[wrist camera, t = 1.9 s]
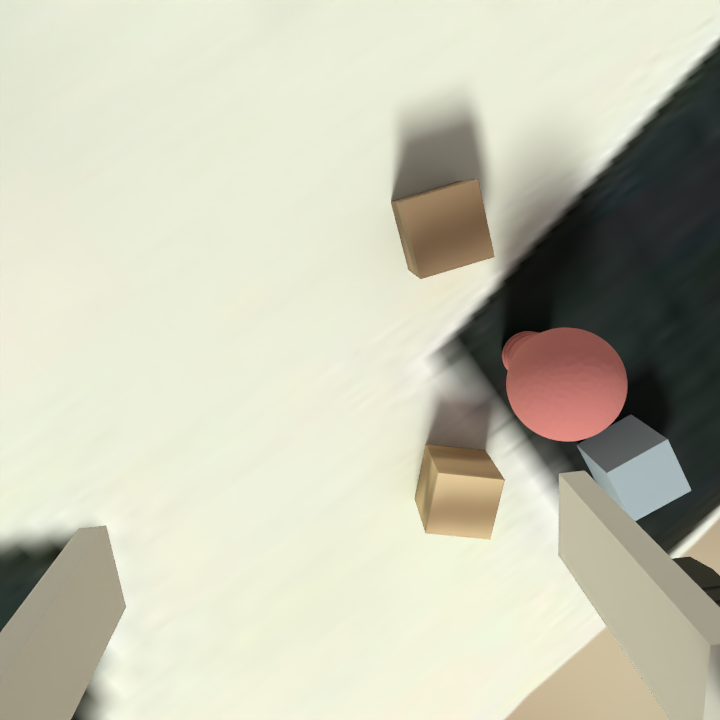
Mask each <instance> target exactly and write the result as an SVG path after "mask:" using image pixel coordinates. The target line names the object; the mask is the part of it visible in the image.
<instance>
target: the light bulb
mask: <svg viewBox="0 0 720 720" xmlns="http://www.w3.org/2000/svg"><path fill="white" fill-rule="evenodd" d="M502 360H503V364H504V366H505V367H506V369H507V370H508V373H507V381H506V387H507V394H508V398H509V401H510V404H511V406H512V409H513V410H514V412H515V414H516V415H517V416H518V418H519V419H520V420H521V421H522V422H523V423H524V424H525V425H526V426H527V427H528V428H530V429H531V430H532V431H534V432H536V433H537V434H539V435H541V436H544V437H546V438H549V439H553V440H558V441H578V440H583V439H587V438H589V437H592V436H594V435H596V434H599V433H600V432H601V431H603V430H604V429H606V428H607V427H608V426H609V425H610V424H612V423H613V421H614V420H615V419H616V418H617V417H618V415H619V413H620V412H621V410H622V408H623V405H624V402H625V400H626V395H627V376H626V371H625V368H624V365H623V363H622V361H621V359H620V357H619V355H618V354H617V352H616V351H615V350H614V349H613V348H612V347H611V346H610V345H609V344H608V343H607V342H606V341H605V340H603V339H602V338H600V337H598V336H597V335H595V334H593V333H590V332H588V331H585V330H581V329H577V328H555V329H551V330H547V331H544V332H541V333H538V332H532V331H524V332H520V333H517V334H515V335H514V336H512V337H511V338H510V339H509V340H508V341H507V342H506V344H505V346H504V348H503V351H502Z"/></svg>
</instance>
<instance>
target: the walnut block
mask: <svg viewBox="0 0 720 720" xmlns="http://www.w3.org/2000/svg"><path fill="white" fill-rule="evenodd" d="M391 204H392V208H393V212H394V216H395V220H396V224H397V227H398V231H399V235H400V239H401V243H402V247H403V250H404V254H405V258H406V262H407V266H408V270H409V271H411V272H412V273H413V274H415V275H416V276H417V277H419V278H420V279H422V278H426V277H429V276H432V275H436V274H439V273H442V272H446V271H449V270H452V269H456V268H459V267H462V266H466V265H469V264H472V263H476V262H479V261H483V260H486V259H489V258H493V257H494V252H493V247H492V242H491V238H490V233H489V228H488V224H487V219H486V214H485V210H484V205H483V200H482V196H481V191H480V186H479V181H478V179H474V180H466V181H458V182H455V183H452V184H448V185H445V186H442V187H438V188H435V189H432V190H428V191H425V192H422V193H418V194H415V195H412V196H408V197H405V198H402V199H398V200H395V201H392V202H391Z"/></svg>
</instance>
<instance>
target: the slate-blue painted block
mask: <svg viewBox="0 0 720 720" xmlns="http://www.w3.org/2000/svg"><path fill="white" fill-rule="evenodd" d="M577 446H578V448H579V450H580V452H581V454H582V456H583V458H584V460H585V462H586V463H587V465H588V467H589V469H590V471H591V473H592V475H593V477H594V479H595V481H596V483H597V484H598V485H599V486H600V487H601V488H602V489H603V490H604V491H605V492H606V493H607V494H608V495H609V496H610V497H611V498H612V499H613V500H614V501H615V502H616V503H617V504H618V505H619V506H620V507H621V508H622V509H623V510H624V511H625V512H626V513H627V514H628V515H629V516H630V517H631V518H632V519H633V520H634V521H636V520H638V519H640V518H642V517H644V516H645V515H647V514H649V513H651V512H653V511H655V510H656V509H658V508H660V507H662V506H664V505H666V504H667V503H669V502H671V501H673V500H675V499H677V498H678V497H680V496H682V495H684V494H686V493H688V492H689V491H691V489H690V486H689V484H688V482H687V480H686V478H685V476H684V473H683V471H682V469H681V467H680V465H679V463H678V461H677V458H676V456H675V454H674V452H673V450H672V448H671V445H670V443H669V441H668V439H667V438H665V437H664V436H662V435H661V434H659V433H658V432H656V431H655V430H653V429H652V428H650V427H649V426H647V425H646V424H645V423H643V422H642V421H640V420H639V419H637V418H636V417H634V416H633V415H629V416H627V417H625V418H624V419H622V420H620V421H618V422H616V423H615V424H613V425H611V426H609V427H608V428H606V429H604V430H603V431H601V432H600V433H599V434H596V435H594V436H592V437H590V438H588V439H586V440H584V441H583V442H581V443H579V444H577Z"/></svg>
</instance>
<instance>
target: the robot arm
mask: <svg viewBox="0 0 720 720" xmlns="http://www.w3.org/2000/svg"><path fill="white" fill-rule="evenodd" d="M558 555H559V556H560V558H561V559H562V561H563V562H564V564H565V565H566V567H567V568H568V570H569V571H570V573H571V574H572V576H573V577H574V579H575V580H576V582H577V583H578V585H579V586H580V588H581V589H582V590H583V592H584V593H585V595H586V596H587V598H588V599H589V601H590V602H591V604H592V605H593V607H594V608H595V610H596V611H597V613H598V614H599V616H600V617H601V619H602V620H603V622H604V623H605V625H606V626H607V627H608V629H609V630H610V632H611V633H612V635H613V636H614V638H615V639H616V641H617V642H618V644H619V645H620V647H621V648H622V650H623V651H624V653H625V654H626V655H627V657H628V658H629V660H630V661H631V663H632V664H633V666H634V667H635V669H636V670H637V672H638V673H639V675H640V676H641V678H642V679H643V681H644V682H645V684H646V685H647V687H648V688H649V690H650V691H651V693H652V694H653V695H654V697H655V698H656V700H657V701H658V703H659V704H660V706H661V707H662V709H663V710H664V712H665V713H666V715H667V716H668V718H669V719H670V720H720V576H719V575H718V574H717V573H716V572H715V571H714V570H713V569H711V568H709V567H708V566H706V565H704V564H702V563H700V562H698V561H697V560H695V559H693V558H691V557H683V558H675V559H671V558H670V557H669V556H668V555H667V554H666V553H665V551H664V550H663V549H662V548H661V547H660V546H659V545H658V544H657V543H656V542H655V541H654V540H653V539H652V538H651V537H650V536H649V535H648V534H647V533H646V532H645V531H644V530H643V529H642V528H641V527H640V526H639V525H638V524H637V523H636V522H635V521H634V520H633V519H632V518H631V517H630V516H629V515H628V514H627V513H626V512H625V511H624V510H623V509H622V508H621V507H620V506H619V505H618V504H617V503H616V502H615V501H614V500H613V499H612V498H611V497H610V496H609V495H608V494H607V493H606V492H605V491H604V490H603V489H602V488H601V487H600V486H599V485H598V484H597V483H596V482H595V481H594V480H593V479H592V478H591V477H590V476H589V475H588V474H587V473H586V472H585V471H578V472H569V473H560V474H559V551H558ZM125 608H126V605H125V601H124V597H123V593H122V589H121V585H120V581H119V576H118V572H117V568H116V564H115V560H114V556H113V552H112V548H111V544H110V540H109V535H108V531H107V527H106V526H98V527H90V528H81V529H78V530H77V532H76V533H75V534H74V536H73V537H72V538H71V540H70V541H69V542H68V544H67V545H66V546H65V548H64V549H63V550H62V552H61V553H60V554H59V556H58V557H57V558H56V560H55V561H54V562H53V564H52V565H51V566H50V568H49V569H48V570H47V572H46V573H45V574H44V575H43V577H42V578H41V579H40V581H39V582H38V583H37V585H36V586H35V587H34V589H33V590H32V591H31V593H30V594H29V595H28V597H27V598H26V599H25V601H24V602H23V603H22V605H21V606H20V607H19V609H18V610H17V611H16V613H15V614H14V615H13V617H12V618H11V619H10V621H9V622H8V623H7V625H6V626H5V627H4V628H3V630H2V631H1V632H0V720H71V718H72V716H73V714H74V712H75V710H76V708H77V706H78V704H79V702H80V700H81V698H82V696H83V694H84V692H85V689H86V687H87V685H88V683H89V681H90V679H91V677H92V675H93V673H94V671H95V669H96V667H97V665H98V663H99V661H100V659H101V657H102V655H103V653H104V651H105V649H106V647H107V645H108V643H109V640H110V638H111V636H112V634H113V632H114V630H115V628H116V626H117V624H118V622H119V620H120V618H121V616H122V614H123V612H124V610H125Z"/></svg>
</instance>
